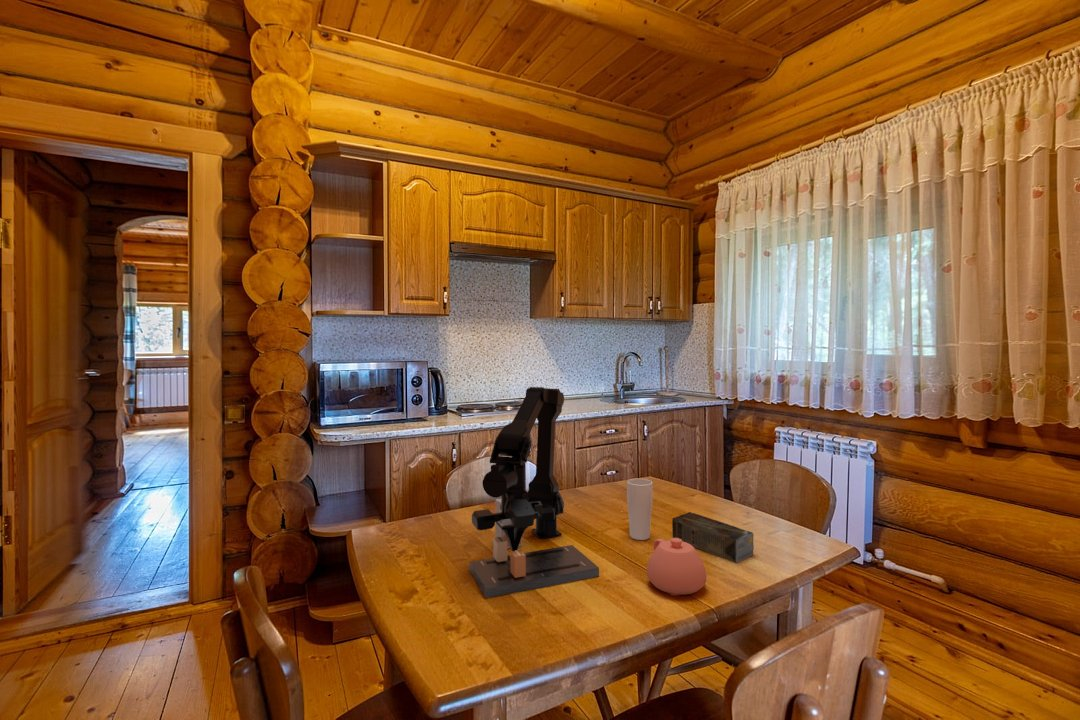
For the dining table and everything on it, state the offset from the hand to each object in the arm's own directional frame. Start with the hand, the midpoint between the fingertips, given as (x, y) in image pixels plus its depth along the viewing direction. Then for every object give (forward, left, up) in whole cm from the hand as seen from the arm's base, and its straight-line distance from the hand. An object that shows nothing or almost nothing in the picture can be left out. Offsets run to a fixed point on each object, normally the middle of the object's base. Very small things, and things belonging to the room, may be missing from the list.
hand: (514, 551), depth 122 cm
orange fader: (+9, -2, -1) cm, 9 cm away
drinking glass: (-5, +37, -4) cm, 37 cm away
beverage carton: (+8, +50, -4) cm, 51 cm away
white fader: (0, -3, -1) cm, 3 cm away
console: (+5, +3, -4) cm, 7 cm away
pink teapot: (+21, +29, -4) cm, 36 cm away
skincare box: (-13, +3, -4) cm, 13 cm away
